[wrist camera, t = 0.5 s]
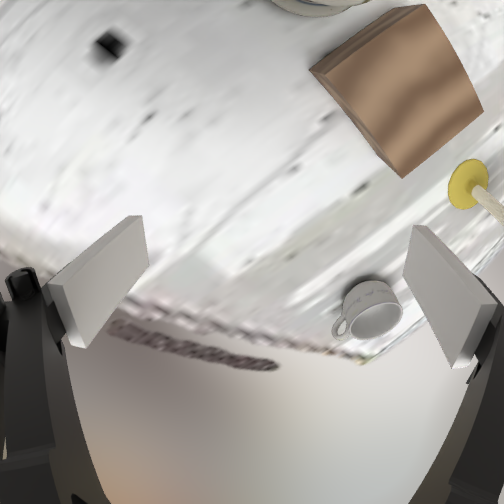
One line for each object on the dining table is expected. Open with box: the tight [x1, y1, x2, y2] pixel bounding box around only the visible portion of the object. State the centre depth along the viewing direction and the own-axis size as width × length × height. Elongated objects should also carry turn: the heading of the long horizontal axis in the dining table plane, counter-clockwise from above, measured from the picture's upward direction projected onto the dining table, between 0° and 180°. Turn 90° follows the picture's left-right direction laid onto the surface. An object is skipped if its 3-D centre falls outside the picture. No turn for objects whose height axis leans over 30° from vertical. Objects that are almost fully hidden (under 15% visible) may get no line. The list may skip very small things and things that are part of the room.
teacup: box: [332, 280, 403, 341], centre depth 55 cm, size 14×11×8 cm
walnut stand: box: [309, 4, 484, 178], centre depth 31 cm, size 16×16×8 cm
